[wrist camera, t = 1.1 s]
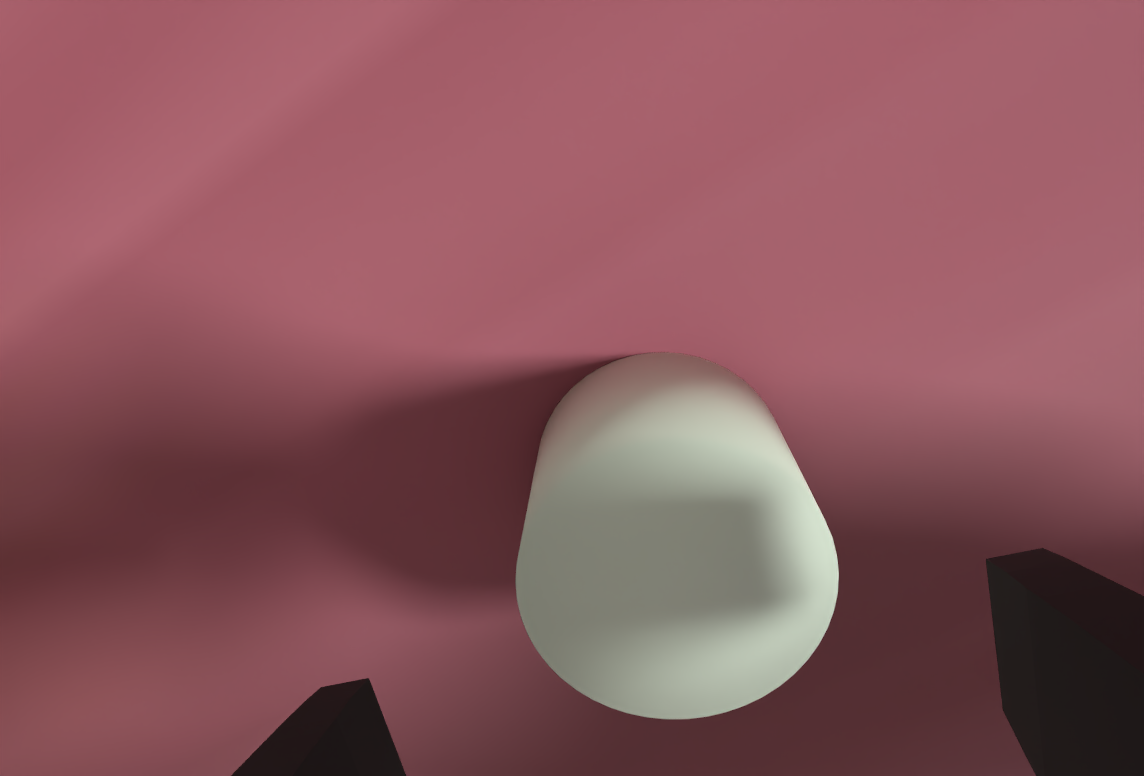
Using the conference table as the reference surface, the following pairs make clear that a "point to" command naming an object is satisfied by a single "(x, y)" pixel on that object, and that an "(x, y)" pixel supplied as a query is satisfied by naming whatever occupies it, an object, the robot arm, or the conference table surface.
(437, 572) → the conference table surface
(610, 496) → the sage capsule
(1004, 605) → the robot arm
